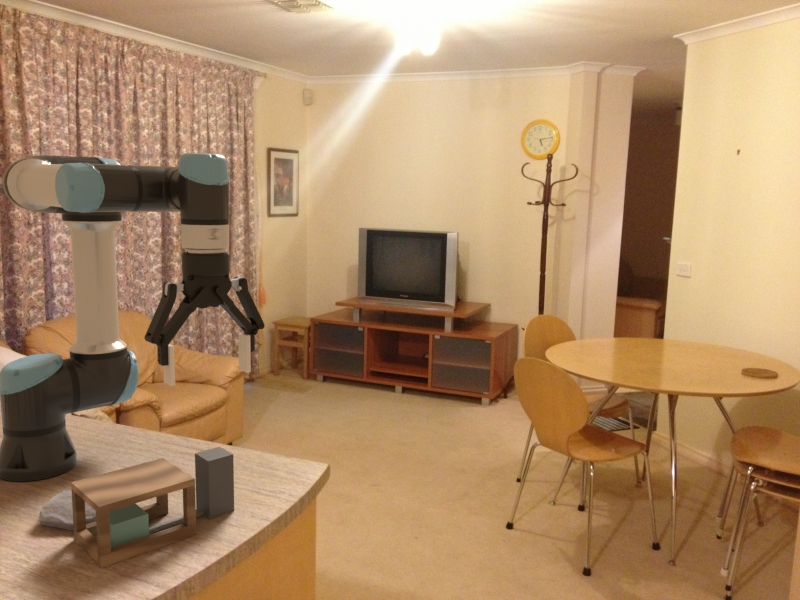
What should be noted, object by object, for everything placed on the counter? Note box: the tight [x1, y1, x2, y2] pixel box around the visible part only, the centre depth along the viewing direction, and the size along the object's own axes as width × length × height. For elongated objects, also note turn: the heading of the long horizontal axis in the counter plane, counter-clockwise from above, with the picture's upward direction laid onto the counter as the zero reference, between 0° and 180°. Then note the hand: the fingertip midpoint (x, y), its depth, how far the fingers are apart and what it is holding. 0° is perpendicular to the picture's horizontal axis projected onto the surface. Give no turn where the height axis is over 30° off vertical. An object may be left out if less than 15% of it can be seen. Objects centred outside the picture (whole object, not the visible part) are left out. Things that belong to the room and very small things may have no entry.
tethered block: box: [109, 446, 235, 548], centre depth 121 cm, size 6×22×11 cm, turn 134°
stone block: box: [38, 489, 96, 531], centre depth 123 cm, size 12×5×10 cm
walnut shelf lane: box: [70, 457, 197, 569], centre depth 117 cm, size 12×16×10 cm
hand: (208, 377), depth 115 cm, fingers open, 13 cm apart
